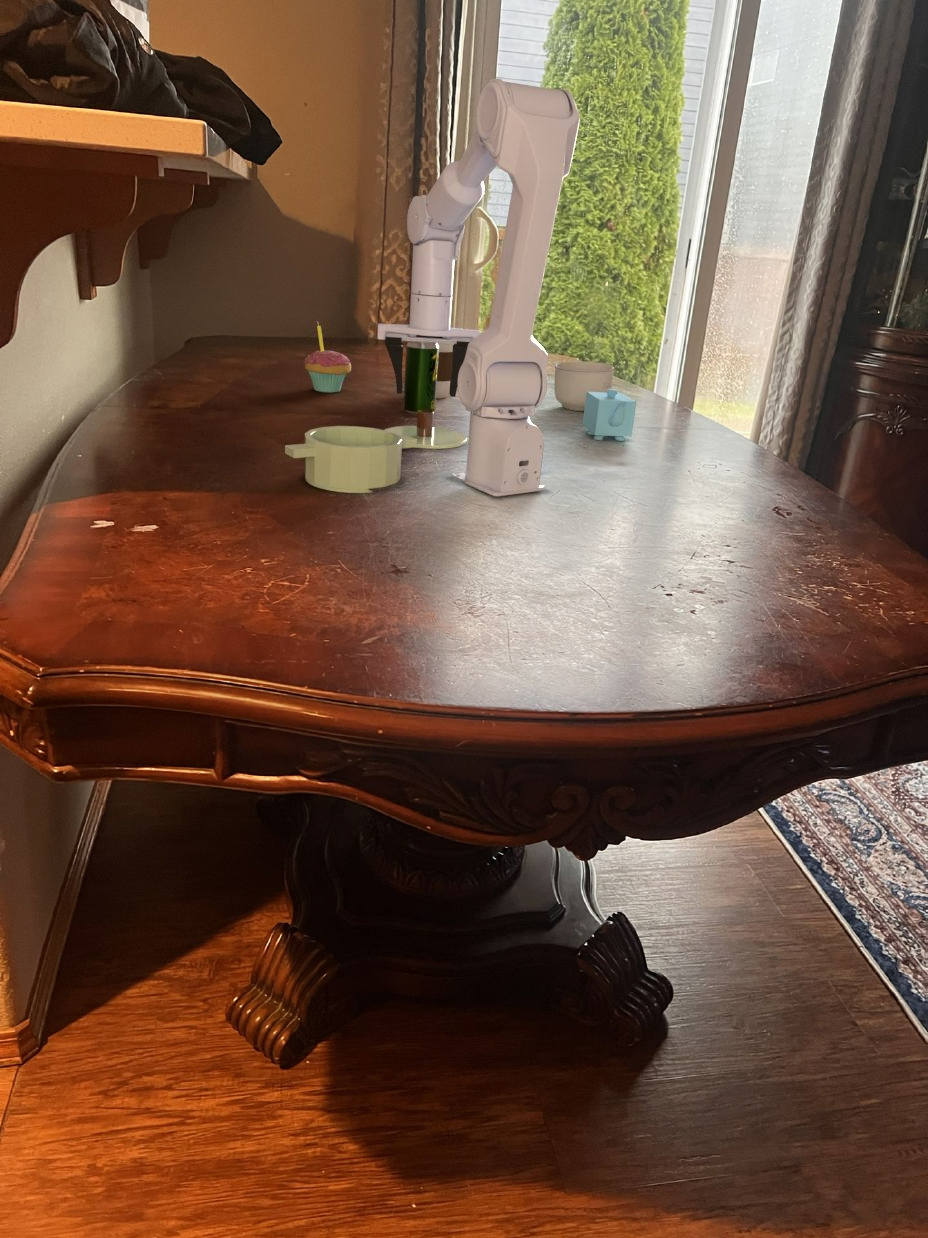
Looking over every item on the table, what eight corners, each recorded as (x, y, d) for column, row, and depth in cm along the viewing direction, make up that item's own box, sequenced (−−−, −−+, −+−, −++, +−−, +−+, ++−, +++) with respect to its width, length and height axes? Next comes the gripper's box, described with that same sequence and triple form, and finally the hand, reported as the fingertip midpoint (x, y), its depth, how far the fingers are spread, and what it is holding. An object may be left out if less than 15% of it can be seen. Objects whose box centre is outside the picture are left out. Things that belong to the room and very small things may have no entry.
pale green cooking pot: (435, 484, 111) (438, 441, 109) (312, 499, 102) (312, 453, 100) (386, 462, 120) (388, 422, 118) (268, 474, 110) (267, 430, 108)
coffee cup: (438, 403, 161) (442, 333, 156) (390, 393, 166) (393, 326, 162) (471, 396, 170) (476, 330, 165) (424, 387, 175) (427, 323, 170)
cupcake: (297, 391, 162) (297, 321, 157) (312, 384, 169) (313, 317, 165) (343, 396, 161) (345, 326, 156) (356, 388, 168) (358, 322, 164)
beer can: (404, 416, 148) (407, 341, 144) (401, 409, 153) (405, 336, 148) (436, 417, 149) (440, 343, 144) (433, 411, 154) (437, 338, 149)
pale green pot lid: (483, 448, 131) (486, 417, 129) (411, 455, 124) (413, 422, 122) (435, 430, 140) (436, 400, 138) (365, 436, 133) (366, 404, 131)
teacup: (612, 416, 162) (618, 370, 159) (552, 411, 162) (557, 366, 158) (602, 402, 175) (608, 360, 171) (547, 398, 174) (551, 355, 171)
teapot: (637, 447, 140) (645, 398, 137) (600, 445, 139) (607, 396, 135) (613, 430, 150) (620, 384, 147) (579, 428, 149) (585, 383, 146)
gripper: (479, 295, 128) (472, 391, 134) (378, 288, 126) (375, 386, 132) (486, 299, 122) (478, 400, 127) (379, 292, 120) (376, 394, 126)
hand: (426, 393), depth 129 cm, fingers open, 7 cm apart
